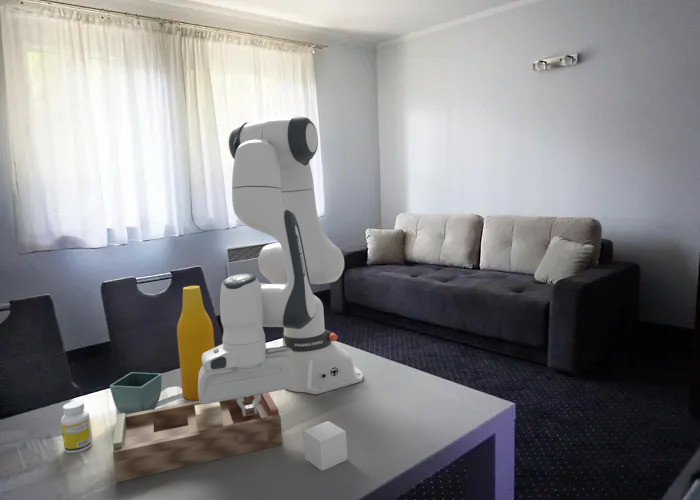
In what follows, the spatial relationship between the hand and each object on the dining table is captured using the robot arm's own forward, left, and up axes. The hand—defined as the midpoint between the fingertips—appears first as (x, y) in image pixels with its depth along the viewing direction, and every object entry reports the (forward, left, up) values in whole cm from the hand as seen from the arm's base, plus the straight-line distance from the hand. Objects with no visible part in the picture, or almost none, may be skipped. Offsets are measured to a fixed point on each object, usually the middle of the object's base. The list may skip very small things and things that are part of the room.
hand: (249, 414), depth 109 cm
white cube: (-12, +14, -6) cm, 20 cm away
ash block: (+8, 0, -2) cm, 9 cm away
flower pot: (+23, -26, -6) cm, 35 cm away
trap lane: (+10, -4, -6) cm, 12 cm away
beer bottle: (+8, -32, -6) cm, 33 cm away
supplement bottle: (+35, -14, -6) cm, 38 cm away
